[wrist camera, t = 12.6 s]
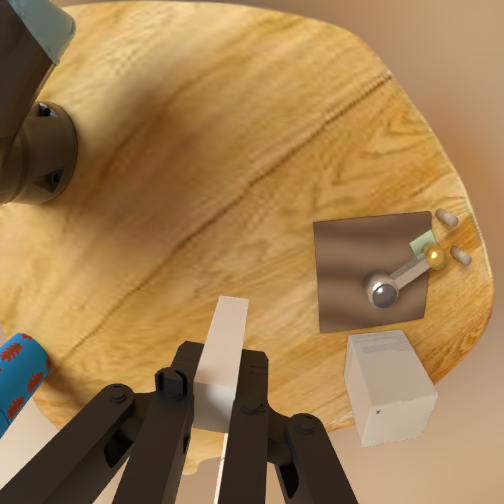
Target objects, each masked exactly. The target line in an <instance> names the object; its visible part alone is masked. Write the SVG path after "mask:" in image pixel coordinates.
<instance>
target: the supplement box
mask: <svg viewBox="0 0 504 504" xmlns="http://www.w3.org/2000/svg"><path fill="white" fill-rule="evenodd" d="M344 379H345V383H346V387H347V391H348V395H349V399H350V403H351V406H352V410H353V414H354V419H355V423H356V427H357V431H358V436H359V440H360V445H361V448H365V447H371V446H377V445H383V444H389V443H394V442H399V441H404V440H408V439H413V438H418V437H421V435H422V433H423V431H424V429H425V426H426V424H427V421H428V419H429V417H430V415H431V412H432V410H433V408H434V406H435V403H436V401H437V398H438V395H439V393H438V392H437V390H436V388H435V386H434V385H433V383H432V381H431V379H430V377H429V376H428V374H427V372H426V370H425V368H424V367H423V365H422V363H421V361H420V360H419V358H418V356H417V354H416V353H415V351H414V349H413V347H412V346H411V344H410V342H409V340H408V339H407V337H406V335H405V334H404V332H403V330H402V329H399V330H391V331H382V332H373V333H363V334H353V335H349V336H348V344H347V354H346V363H345V371H344Z"/></svg>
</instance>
